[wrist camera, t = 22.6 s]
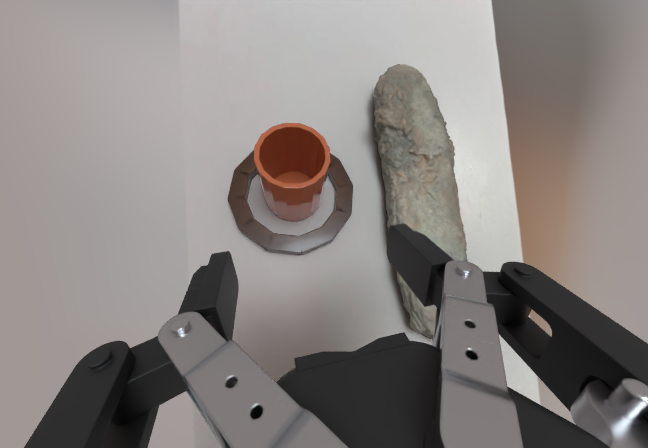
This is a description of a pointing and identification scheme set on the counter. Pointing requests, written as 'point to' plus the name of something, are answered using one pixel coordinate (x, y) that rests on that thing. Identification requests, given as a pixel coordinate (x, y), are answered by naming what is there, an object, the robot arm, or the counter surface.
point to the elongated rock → (417, 172)
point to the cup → (292, 169)
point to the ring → (281, 241)
